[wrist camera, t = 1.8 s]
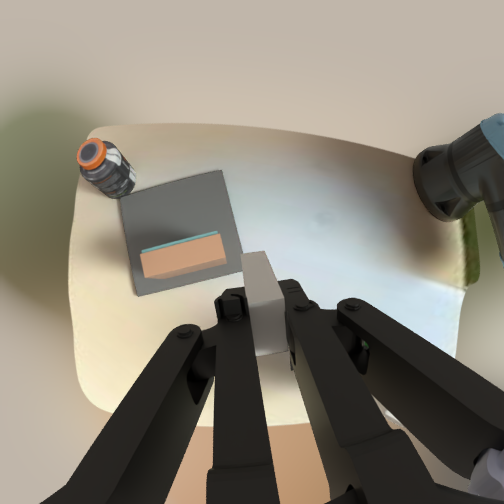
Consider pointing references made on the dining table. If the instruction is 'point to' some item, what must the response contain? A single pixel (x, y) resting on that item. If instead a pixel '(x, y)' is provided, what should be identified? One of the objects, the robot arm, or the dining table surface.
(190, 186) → the mat
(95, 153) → the pill bottle
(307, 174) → the dining table surface
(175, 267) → the tile
